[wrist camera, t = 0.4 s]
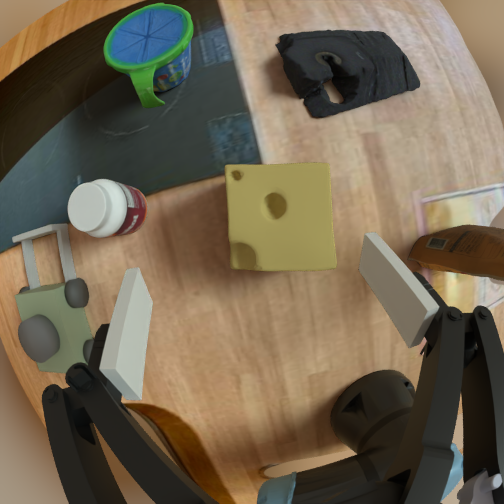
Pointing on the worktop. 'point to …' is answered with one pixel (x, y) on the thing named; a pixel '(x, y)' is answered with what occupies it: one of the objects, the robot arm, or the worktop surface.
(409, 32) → the worktop surface
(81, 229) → the pill bottle
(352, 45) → the dark slate chunk
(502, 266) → the pancake mix bag
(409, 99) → the worktop surface
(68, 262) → the toy lawn mower
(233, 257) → the cheese
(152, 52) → the snack cup
